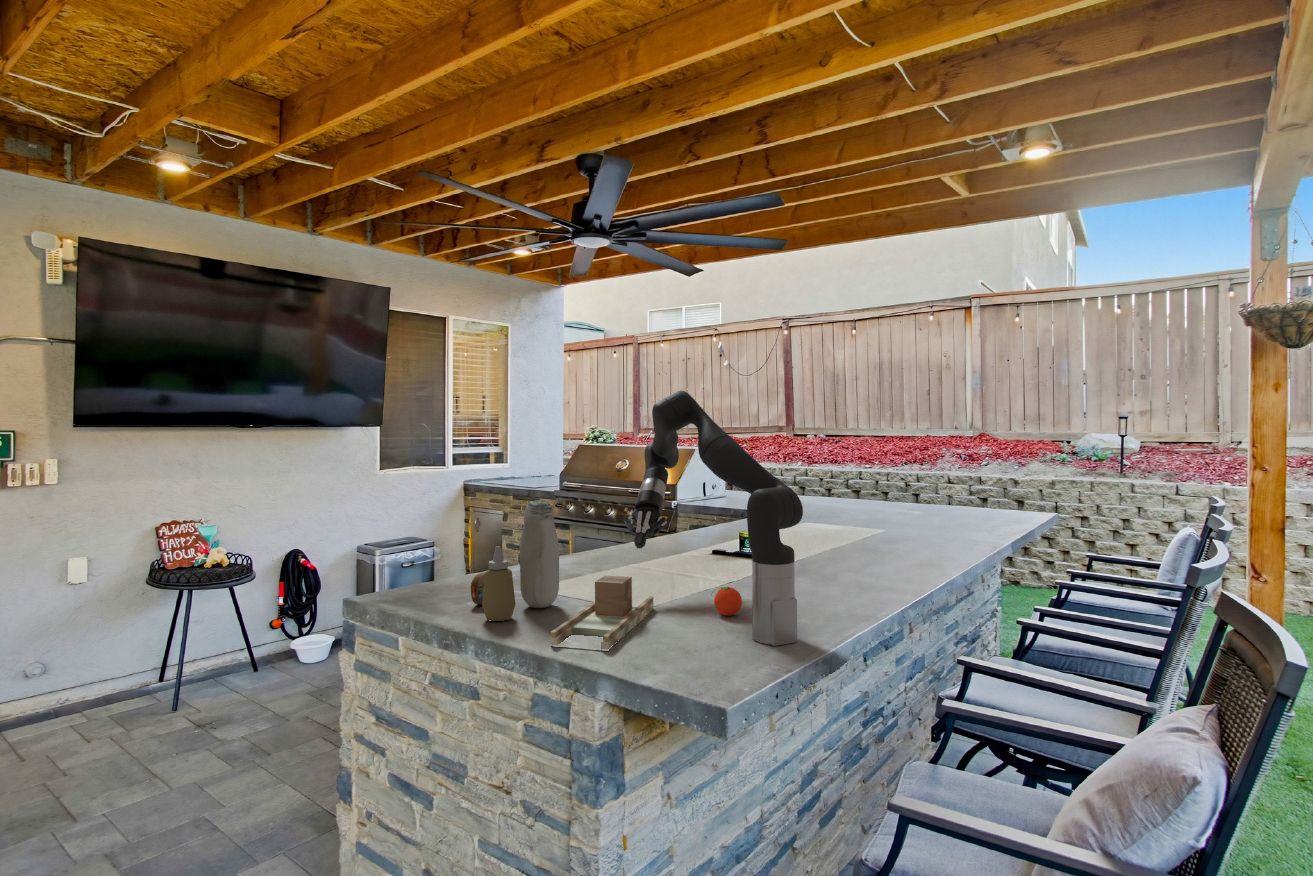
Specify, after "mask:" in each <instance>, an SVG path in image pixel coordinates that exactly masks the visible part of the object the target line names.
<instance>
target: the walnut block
mask: <svg viewBox="0 0 1313 876" xmlns="http://www.w3.org/2000/svg"><path fill="white" fill-rule="evenodd" d="M632 586H633V577H632V576H620V575H603V576H602V577H600V578H599V579H597V580H596V581H594V602H595V615H601V616H615V617H624V616H625V615H626V614H627V613H628V612H629V611H631V610H632V607H633V587H632Z"/></svg>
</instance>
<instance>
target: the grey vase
mask: <svg viewBox="0 0 1313 876" xmlns="http://www.w3.org/2000/svg"><path fill="white" fill-rule="evenodd" d="M523 514H524V516H523V525H522V526H523V527H522V532H521V536H520V542H519V574H520V576H519V578H520V579H519V580H520V582H519V583H520V585H519V586H520V593H521V597H522V599H523V602H525V604H527V606H529V607H531V608H533V609H544V608H547V607H550V606H552V604H554V603H555V601H556V600H557V597H558V595H559V591H560V590H559V589H560V546H559V540H558V535H557V530H556V526H555V525H556V524H555V520H554V510H553V507H552V505H551V504H550V503H549V502H548V501H546V500H540V499H536V500H535V499H534V500H532V501H530V502H529V503H528V504H526V506H525V509H524V513H523Z"/></svg>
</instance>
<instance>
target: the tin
mask: <svg viewBox="0 0 1313 876" xmlns="http://www.w3.org/2000/svg"><path fill="white" fill-rule="evenodd" d="M486 571H487V570H486ZM486 571H483V572H480V573H479V574H476V575H475V576H474V577H473V578H472V580H471V582H470V595H471V600H472V603H473V604H475V605H477V606H482V602H483V590H484V578H485V572H486Z"/></svg>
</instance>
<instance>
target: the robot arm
mask: <svg viewBox="0 0 1313 876" xmlns="http://www.w3.org/2000/svg"><path fill="white" fill-rule="evenodd" d="M651 416H652V425H653V432H654V436H653V440H652V441H651V442H649V443H647V444H646V446H645V449H644V456H643V457H644V463H645V465H644V466H645V467H644V468H645V470H644V475H643V479H642V483H641V485H640V488H639V491H638V495H637V498H636V502H635V507H634V509H633V510H632V512H631V515H629V516H627V515H625V516H623V521H624V523H625V526H626V527H627V528H628V531H629V532H630V533H631V535H632V536H633V537H634V536H635V537H634V541H633V543H634V546H635V547H636V549H643V548H644V547H645V546H646V543H647V539H648V537H655V536H656V535H657V533H659V532H660V531H662V529H664V528H665V527H666V526H667V525H668V522H667V519H666V517H664V516H662V509H663V505H664V501H665V495H666V489H667V483H668V480H669V471H668V469H674V467H676V466H677V464H678V462H679V459H680V454H679V452H680V451H679V448H678V443H679V435H678V432H677V431H679V430H681V429H683V428H685V427H687V426H689V425H690V424H692V425H694V426H695V427H696V428H697V448H698V449H697V450H698V454H699V458H700V460H701V462H702V463H703V464H704V465H705V466H706V468H708V469H709V470H710V471H711V472H712V473H713V474H714V475H715V476H716V477H718V478H719V479H720V480H721V481H724V482H725V483H727V484H730V485H731V486H734V487H736V488H738V489H741V490H742V491H744V492H747V493H748V494H749V497H748V500H747V504H746V524H747V539H748V540H747V541H748V546H749V550H750V553H751V572H752V573H751V584H752V585H751V589H752V590H751V591H752V592H751V593H752V595H751V596H752V597H751V599H752V602H751V603H752V604H751V606H752V608H751V609H752V639H753V640H754V641H756V642H758V643H761V644H765V645H771V646H774V647H777V646H781V645H787V644H792V643H793V644H795V643H798V599H797V598H796V594H795V593H796V591H795V589H796V586H795V579H796V577H795V576H796V575H795V574H796V573H795V569H796V568H795V566H796V565H795V560H796V559H795V549H794V548H793V547H792V546H790V545H787V544H785V543H783V542H782V541H781V536H780V534H781V533H780V530H784V529H789V528H792V527H794V526H797V525H798V524H799V523H800V522H801V521H802V519H803V516H804V507H803V504H802V501H801V499H800V497H799V495H798V494H797V493H796V492H795V491H794V490H793V489H792V488H791V487H789V486H788V485H787V484H785V483H784V482H783V481H782V480H780V479H779V478H777V477H776V476H775V475H773V474H772V473H770V472H769V470H767V469H766V468H765V467H763V466H762V465H761V464H760V463H759V462H758V461H757V460H756V459H755V458H754V457H753V456H751V454H749V453H748V452H747V451H746V450H745V449H744V448H743V447H742V446H741V445H740V444H739V442H737V441H736V440H735V439H734V438H733V437H732V436H731V435H729V434H728V433H727V432H726V431H724V429H722V428H721V427H720V426H719V425H718V424H717V423H716V422H715V421H714V420H713V419H712V418H711V416H709V415H708V414H707V412H706V411H705V410H704V408H702V407H701V405H700V404H699V403H698V402H697V401H696V399H694V397H693V396H692V395H691V394H690V393H688V392H687V391H685V390H678V391H677V390H676V391H675V392H673V393H671V394H669V395H667V396H665V397H663V398H661V399H659V400H658V401H656V402H655V403H654V404H653V406H652V410H651ZM634 522H635V524H636V528H635V526H634V525H633V523H634Z"/></svg>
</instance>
